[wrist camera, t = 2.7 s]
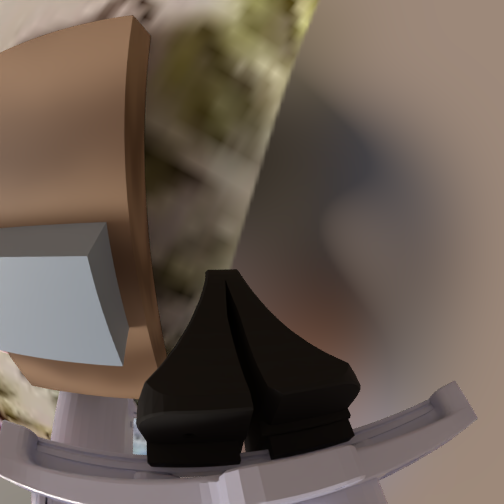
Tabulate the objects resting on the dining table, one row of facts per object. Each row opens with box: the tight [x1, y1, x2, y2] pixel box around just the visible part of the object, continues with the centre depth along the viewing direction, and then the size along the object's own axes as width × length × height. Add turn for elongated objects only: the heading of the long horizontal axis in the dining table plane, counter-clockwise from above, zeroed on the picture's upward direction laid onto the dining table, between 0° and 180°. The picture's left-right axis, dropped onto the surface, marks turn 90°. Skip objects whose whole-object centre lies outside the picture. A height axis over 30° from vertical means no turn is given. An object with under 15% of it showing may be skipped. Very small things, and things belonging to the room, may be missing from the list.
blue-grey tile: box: [0, 222, 129, 366], centre depth 10 cm, size 6×9×2 cm, turn 85°
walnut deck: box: [0, 15, 167, 399], centre depth 12 cm, size 22×12×4 cm, turn 175°
